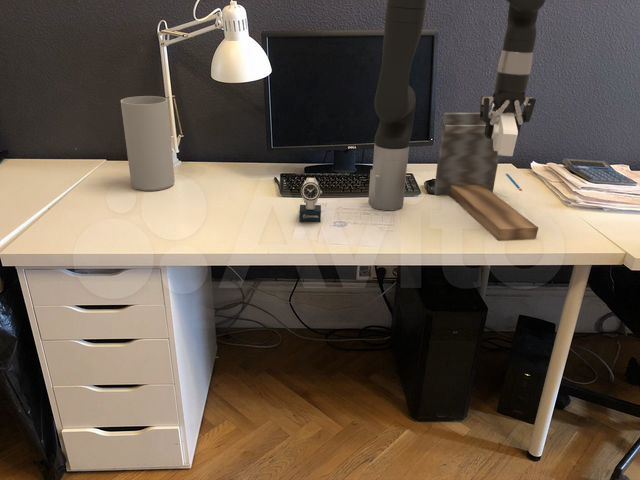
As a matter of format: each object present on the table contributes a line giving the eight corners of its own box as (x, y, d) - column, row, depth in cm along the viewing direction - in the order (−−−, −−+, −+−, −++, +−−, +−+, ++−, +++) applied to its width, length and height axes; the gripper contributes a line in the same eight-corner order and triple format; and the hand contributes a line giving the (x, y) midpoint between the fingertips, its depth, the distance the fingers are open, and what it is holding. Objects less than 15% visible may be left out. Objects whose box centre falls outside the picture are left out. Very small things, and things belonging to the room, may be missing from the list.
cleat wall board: (483, 241, 131) (499, 144, 121) (433, 193, 161) (443, 112, 151) (550, 237, 134) (572, 143, 124) (489, 191, 164) (503, 112, 154)
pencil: (519, 191, 166) (519, 189, 165) (504, 174, 181) (504, 172, 181) (522, 191, 166) (522, 189, 165) (506, 174, 181) (507, 172, 181)
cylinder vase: (122, 188, 158) (110, 101, 147) (149, 175, 168) (139, 94, 158) (158, 194, 154) (148, 106, 143) (183, 181, 164) (176, 98, 154)
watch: (299, 225, 137) (299, 184, 132) (300, 213, 144) (300, 173, 139) (321, 225, 137) (322, 184, 132) (320, 213, 144) (322, 174, 139)
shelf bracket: (503, 135, 152) (512, 92, 145) (511, 179, 132) (523, 133, 125) (483, 133, 153) (491, 91, 145) (488, 177, 133) (498, 131, 126)
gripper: (493, 72, 126) (481, 142, 133) (549, 73, 128) (534, 142, 136) (479, 68, 133) (468, 134, 140) (532, 69, 135) (519, 134, 142)
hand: (501, 138), depth 138 cm, fingers closed on shelf bracket, 6 cm apart
